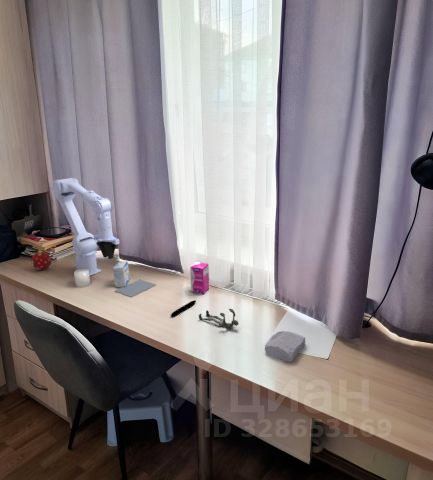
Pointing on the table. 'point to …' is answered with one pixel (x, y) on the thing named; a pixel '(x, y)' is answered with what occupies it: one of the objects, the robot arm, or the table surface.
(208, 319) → the zombie figurine
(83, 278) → the white round lump
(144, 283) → the felt mat
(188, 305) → the pen
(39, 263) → the christmas ornament
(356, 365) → the table surface
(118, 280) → the medicine box
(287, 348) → the stone block
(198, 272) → the supplement box
